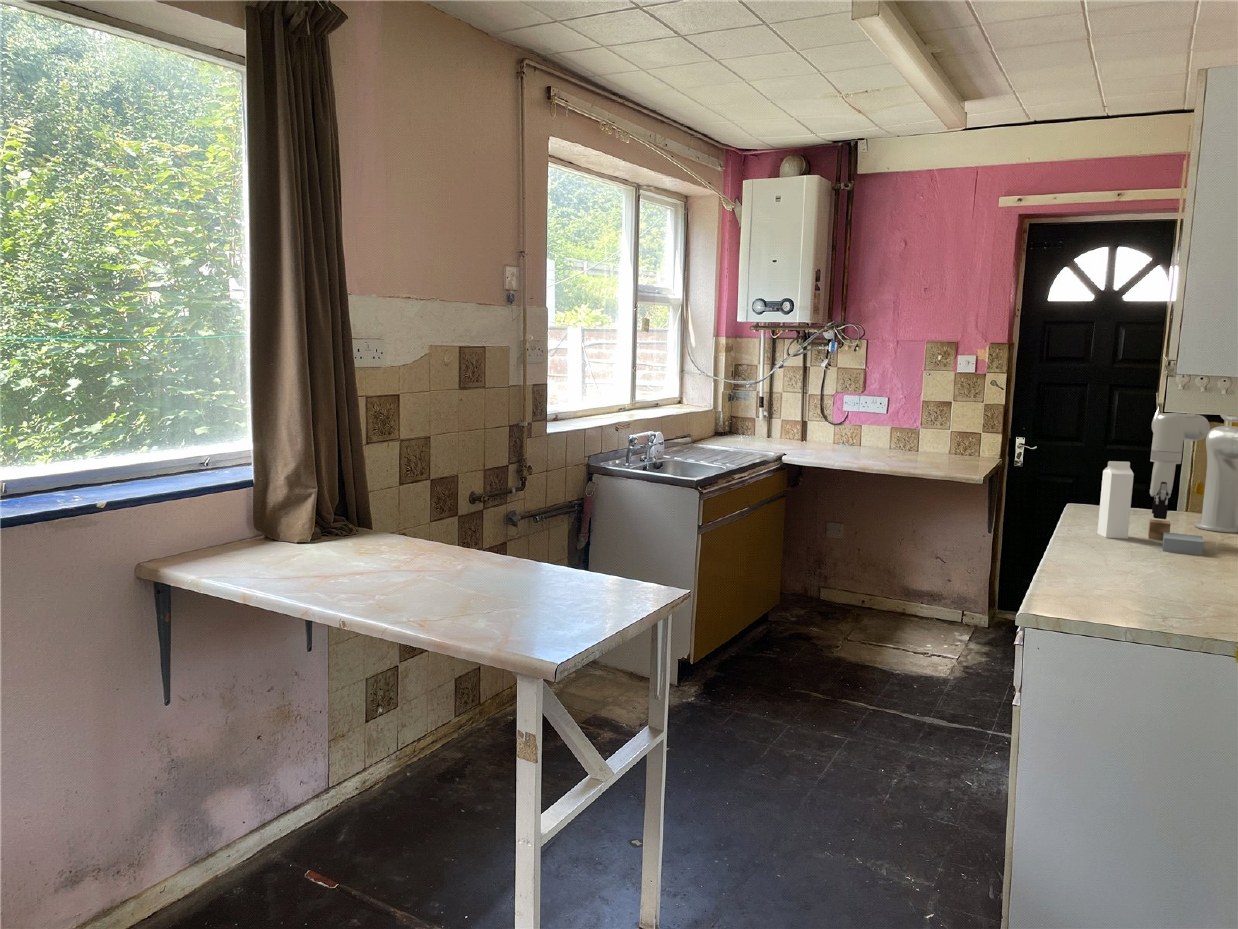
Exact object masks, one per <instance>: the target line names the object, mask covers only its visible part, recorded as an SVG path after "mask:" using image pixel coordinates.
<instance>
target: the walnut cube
mask: <svg viewBox="0 0 1238 929" xmlns="http://www.w3.org/2000/svg"><path fill="white" fill-rule="evenodd" d="M1148 521H1149V522H1148V531H1147V537H1148V538H1147V539H1149V540H1155V541H1156V540H1157V541H1163V534H1164V532H1167V533H1171V521H1170V520H1164V519H1152V518H1151V519H1150V518H1149V520H1148Z"/></svg>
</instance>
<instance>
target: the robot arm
mask: <svg viewBox="0 0 1238 929" xmlns="http://www.w3.org/2000/svg"><path fill="white" fill-rule="evenodd" d="M1219 415H1220V417H1221V419H1223V420H1224V421H1227V422H1231V423H1238V416H1227V415H1221V414H1220V413H1219ZM1151 431H1152V433H1153V434H1152V443H1151V451H1150V460H1149V461H1150V462H1153V467H1152V473H1151V481H1150V487H1149V488H1150V489H1149V494H1150V497H1153V498H1154V500H1153V501H1152V506H1151V507H1152V509H1151V514H1153V515H1152V516H1153V517H1152V518H1153V519H1156V520H1167V517H1168V510H1169V508H1168V507H1169V504H1168V503H1169V502H1168V501H1169V498H1170V497H1171V494H1172V490H1173V486H1174V480H1175V473H1176V466H1177V465H1181V464H1182V457H1183V449H1184V442H1185V441H1192V442H1193V441H1195V442H1196V441H1200V440H1203V439H1204V438H1205V448H1206V455H1207V456H1206V457H1207V458H1206V459H1207V461H1206V474H1205V475H1206V476H1205V483H1204V492H1203V500H1202V501H1203V502H1202V512H1201V521H1195V522H1194V526H1195V527H1196V528H1198V529H1201V530H1206V531H1211V532H1220V533H1233V534H1234V533H1235V534H1236V533H1238V426H1233V425H1220V426H1216V427H1213V428H1211V426H1210V422H1209V421H1208V418H1206V417H1205V416H1203V415H1200V414H1191V413H1180V412H1179V413H1178V412H1176V413H1160V411H1159V406H1158V408H1157V409H1156V412H1155V413H1154V416H1153V418H1152V421H1151Z"/></svg>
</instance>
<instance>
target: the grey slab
mask: <svg viewBox="0 0 1238 929" xmlns="http://www.w3.org/2000/svg"><path fill="white" fill-rule="evenodd" d="M1204 544H1205V542H1204V537H1203V536H1202V535H1194V534H1186V533H1185V534H1184V533H1177V532H1176V533H1175V532H1170V533H1167V532H1164V534H1163V540H1162V552H1168V553H1177V554H1183V555H1193V556H1204V554H1203V553H1204Z"/></svg>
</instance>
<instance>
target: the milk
mask: <svg viewBox="0 0 1238 929" xmlns="http://www.w3.org/2000/svg"><path fill="white" fill-rule="evenodd" d="M1134 476H1135V473H1134V472H1133V470H1132V469H1131V462H1130V461H1119V460H1118V461H1116V460H1114V461H1113V460H1112V461H1111V460H1109V461H1108V462H1107V467H1105V468H1104V469H1103V470H1102V477H1101V478H1102V480H1101V491H1100V502H1099V512H1098V522H1097V523H1098V525H1097V534H1098V535H1099V536H1102V537H1103V538H1106V539H1124V540H1125V539H1127V540H1128V538H1129V537H1128V536H1129V529H1130V528H1129V525H1130V518H1131V507H1132V506H1131V505H1132V495H1133V484H1134ZM1097 534H1096V535H1097Z"/></svg>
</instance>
